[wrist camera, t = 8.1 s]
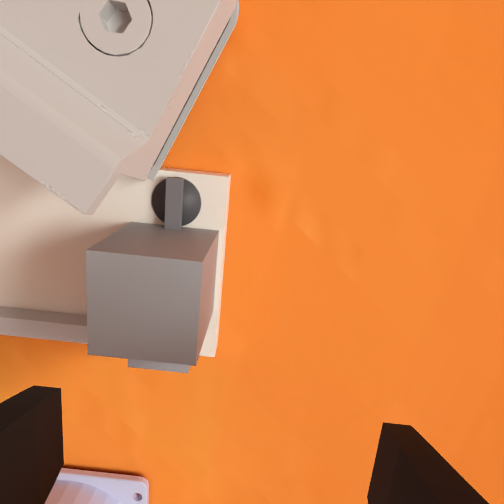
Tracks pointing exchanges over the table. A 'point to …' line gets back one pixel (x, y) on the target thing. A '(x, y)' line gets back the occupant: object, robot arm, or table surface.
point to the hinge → (102, 86)
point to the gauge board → (71, 233)
